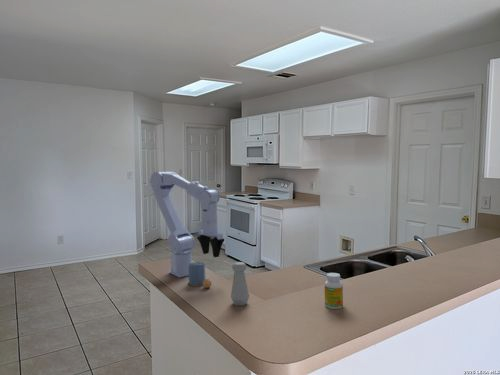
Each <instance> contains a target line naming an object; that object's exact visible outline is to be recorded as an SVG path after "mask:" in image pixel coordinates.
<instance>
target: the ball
mask: <svg viewBox="0 0 500 375" xmlns="http://www.w3.org/2000/svg"><path fill="white" fill-rule="evenodd" d="M211 286H212V281H211V280H210V279H209V278H206V279H205V280H204V281H203V286H202V287H203V288H205V289H209V288H210V287H211Z"/></svg>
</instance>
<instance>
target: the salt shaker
mask: <svg viewBox="0 0 500 375" xmlns="http://www.w3.org/2000/svg"><path fill="white" fill-rule="evenodd" d="M231 270H232V271H233V279H232V286H231V292H230V298H231V300H232V303H233V305H235V306H240V307H241V306H245V304H246V305H247V304H248V300H249V298H250V292H249V288H248V283H247V280H246V275H245V271H246V270H247V264H246V263H245V262H244V261H237V262H234V263H233V264H232V269H231Z"/></svg>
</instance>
